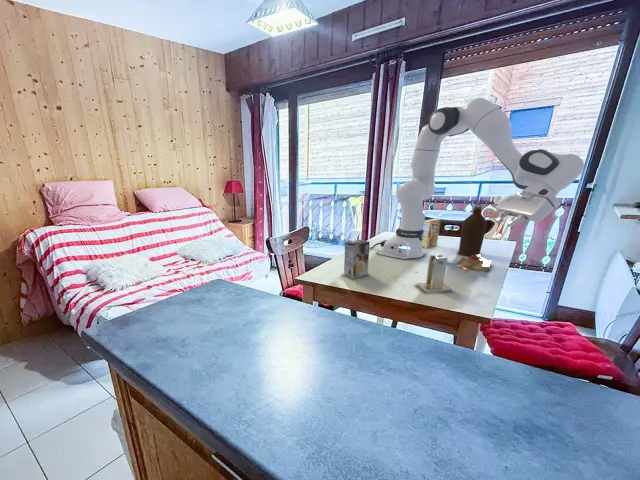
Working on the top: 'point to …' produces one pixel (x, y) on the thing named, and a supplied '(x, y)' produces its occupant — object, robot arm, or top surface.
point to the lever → (454, 265)
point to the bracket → (435, 275)
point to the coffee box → (356, 258)
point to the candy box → (431, 232)
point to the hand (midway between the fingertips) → (503, 223)
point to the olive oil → (472, 233)
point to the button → (476, 256)
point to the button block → (475, 263)
